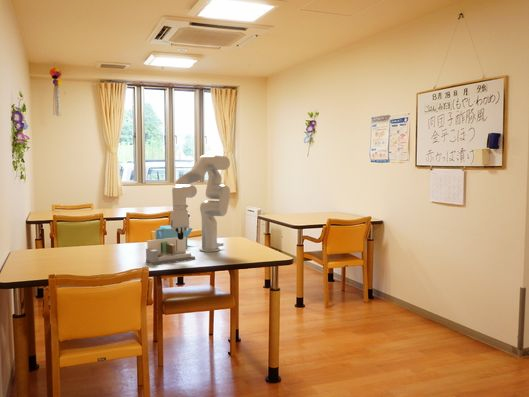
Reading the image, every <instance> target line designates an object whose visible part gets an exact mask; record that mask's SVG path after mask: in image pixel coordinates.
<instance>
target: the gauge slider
mask: <svg viewBox="0 0 529 397" xmlns="http://www.w3.org/2000/svg"><path fill="white" fill-rule="evenodd" d="M161 253H162V254H158V257H163V256H171V254H172V255H174V254H175V245H173V244H169V243H167V244H166V253H164V252H162V243H161Z"/></svg>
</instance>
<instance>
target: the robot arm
mask: <svg viewBox="0 0 529 397" xmlns="http://www.w3.org/2000/svg"><path fill="white" fill-rule="evenodd" d="M230 166H231V161H230V159H229V157H227V156H225V155H223V156H222V155H215V154H214V155H213V154H207V155H206V154H203V155H201V156H199V157H198V159H197V160H196V162H195V164H194V165H193V166H192V168H191V170H190V171H188V172H186V173H184V174H183V175H181V176H180V177H179V178H177V179H176V181H175V183H174V185H173V187H172V190H171V191H172V193H171V194H172V196H171V197H172V198H171V199H172V210H171V211H170V212H171V213H170V223H169V225H170V226H171V227H172V228H171V230H175V231H176V232H177V234H178V239H179V240H181V239H182V240H183V237H184V235H183V233H184V231H185V230H186V229H188V228H190V226H189V225H190V217H189V212H188V208H189V205H188V204H187V198H188V199H190V198H192V199H193V197H195V196H196V195H197V192H198V190H197V187H196V186H195V185H194V184H193V183H196V182H199V181H201V180H202V179H204V177H205V175H206V173H207V175H208V176H207V177H208V178H207V184H206V189H205V197H206V198H207V199H210V200H204V201H202V202H201V203H200V205H199V211H200V216H201V247H200V248H199V251H200V252H205V253H212V252H218V251H220V247H223V246H224V245H225V244H224V242H221V243H220V242H218V222H217V219H216V217H224V216H226V214H227V212H228V208H229V204H230V203H229V202H230V198H231V189H230V187H229V185H227V184H222V179H223V178H222V175H221V173H220V172H219V171H223V170H224V171H227V170H228V169H229V168H230Z"/></svg>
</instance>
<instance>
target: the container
mask: <svg viewBox="0 0 529 397" xmlns="http://www.w3.org/2000/svg"><path fill="white" fill-rule="evenodd" d="M171 228H172V227H171V226H170V224H169V225H160V226H159V228H156V229H155V230H154V231H155V234H154V235H155V239H154V240H158V239H168V238H177V237H178V234H177V232H176V231H175V230H171ZM192 230H193V228H192V227H189V228H188V229H186V230H185V231H184V233H183V235H184V237H186V248H187V247H188V238H189V236H190V234H191V232H192Z"/></svg>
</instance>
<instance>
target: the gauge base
mask: <svg viewBox="0 0 529 397" xmlns="http://www.w3.org/2000/svg"><path fill="white" fill-rule="evenodd" d="M161 243H162V252H164V253H166V244H167V243H169V244H173V245H175V254H174V255H172V254H171V256H163V257H158V254H162V253H161ZM146 245H147V246H146V249H145V258H146V259H145V262H146V263H148V264H150V265H152V264H153V265H152V266H155V264H157V265H162V264H161V263H164V264H169V263H168V262H171V263H177V262H176V261H179V262H184V260H186V261H191V260H196V256H194V255H192V253H191V252H187V247H186V237H183V240H182V239H181V240H179V239H178V237H177V238H168V239H158V240H156V239H152V240H151V239H150V240H146Z"/></svg>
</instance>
